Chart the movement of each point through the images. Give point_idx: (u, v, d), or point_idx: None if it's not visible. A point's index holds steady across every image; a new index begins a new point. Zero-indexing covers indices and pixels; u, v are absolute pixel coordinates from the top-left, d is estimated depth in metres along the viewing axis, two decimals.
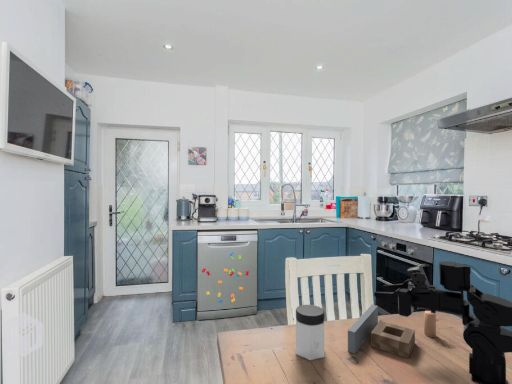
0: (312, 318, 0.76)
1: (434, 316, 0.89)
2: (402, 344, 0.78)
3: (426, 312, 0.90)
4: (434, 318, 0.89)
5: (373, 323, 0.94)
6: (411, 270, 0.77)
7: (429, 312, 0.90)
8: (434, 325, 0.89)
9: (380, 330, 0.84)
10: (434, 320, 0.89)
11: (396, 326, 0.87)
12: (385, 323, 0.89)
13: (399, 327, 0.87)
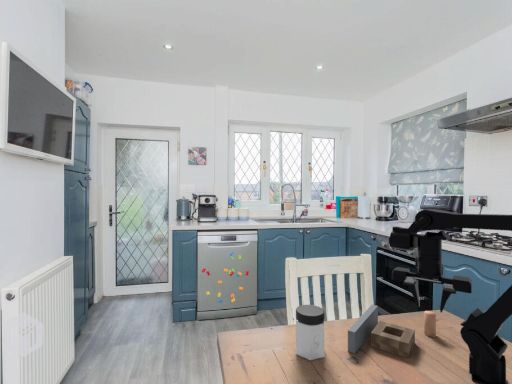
0: (312, 318, 0.76)
1: (434, 316, 0.89)
2: (402, 344, 0.78)
3: (426, 312, 0.90)
4: (434, 318, 0.89)
5: (373, 323, 0.94)
6: None
7: (429, 312, 0.90)
8: (434, 325, 0.89)
9: (380, 330, 0.84)
10: (434, 320, 0.89)
11: (396, 326, 0.87)
12: (385, 323, 0.89)
13: (399, 327, 0.87)
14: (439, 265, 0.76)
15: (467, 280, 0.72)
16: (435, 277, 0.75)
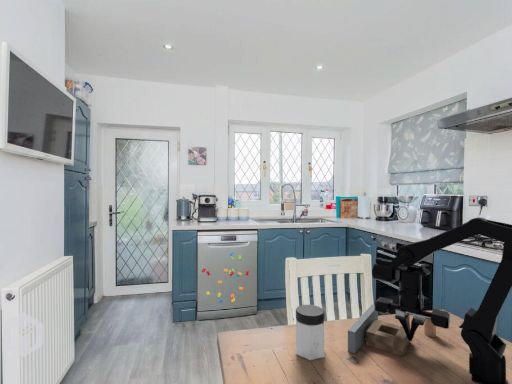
0: (312, 318, 0.76)
1: None
2: (397, 342, 0.79)
3: None
4: None
5: None
6: None
7: None
8: None
9: (375, 329, 0.85)
10: None
11: (391, 325, 0.88)
12: (380, 322, 0.90)
13: (394, 325, 0.87)
14: (419, 299, 0.79)
15: (445, 315, 0.75)
16: (415, 311, 0.78)
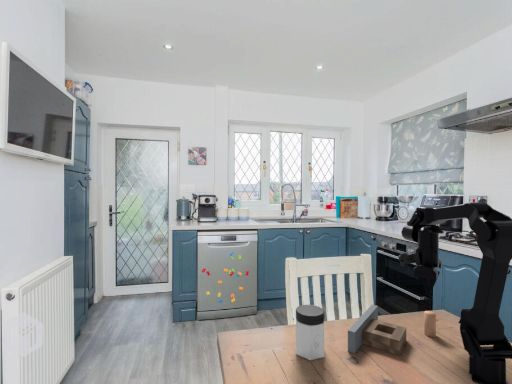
0: (312, 318, 0.76)
1: (434, 316, 0.89)
2: (393, 341, 0.79)
3: (426, 312, 0.90)
4: (434, 318, 0.89)
5: None
6: (401, 262, 0.93)
7: (429, 312, 0.90)
8: (434, 325, 0.89)
9: (372, 328, 0.86)
10: (434, 320, 0.89)
11: (388, 324, 0.88)
12: (377, 321, 0.90)
13: (391, 325, 0.88)
14: None
15: None
16: None
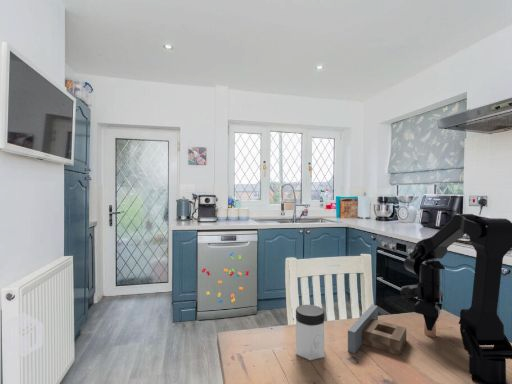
0: (312, 318, 0.76)
1: None
2: (393, 341, 0.79)
3: None
4: None
5: None
6: (402, 295, 0.93)
7: None
8: (434, 325, 0.89)
9: (372, 328, 0.86)
10: None
11: (388, 324, 0.88)
12: (377, 321, 0.90)
13: (391, 325, 0.88)
14: None
15: None
16: (440, 298, 0.90)
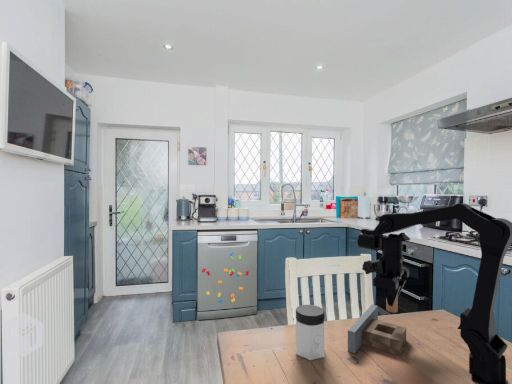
0: (312, 318, 0.76)
1: None
2: (393, 341, 0.79)
3: None
4: None
5: None
6: None
7: None
8: (395, 300, 0.85)
9: (372, 328, 0.86)
10: None
11: (388, 324, 0.88)
12: (377, 321, 0.90)
13: (391, 325, 0.88)
14: None
15: None
16: (403, 272, 0.86)
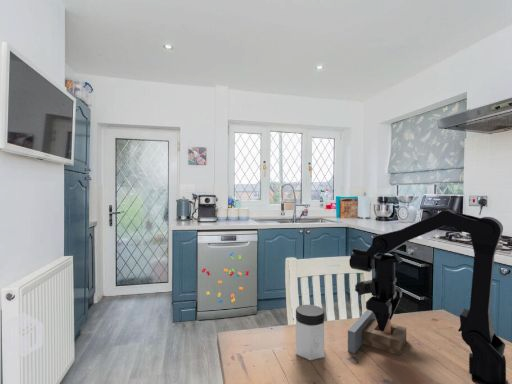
0: (312, 318, 0.76)
1: (388, 323, 0.84)
2: (393, 341, 0.79)
3: None
4: (388, 325, 0.84)
5: None
6: (357, 291, 0.88)
7: None
8: (388, 332, 0.84)
9: (372, 328, 0.86)
10: (388, 327, 0.84)
11: None
12: None
13: (391, 325, 0.88)
14: None
15: (395, 286, 0.91)
16: (396, 293, 0.85)
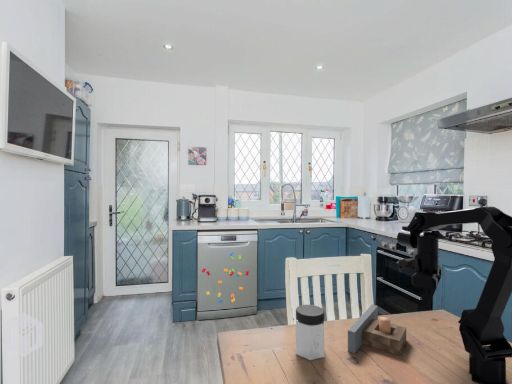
0: (312, 318, 0.76)
1: (388, 323, 0.84)
2: (393, 341, 0.79)
3: (381, 318, 0.86)
4: (388, 325, 0.84)
5: None
6: (399, 269, 0.89)
7: (384, 318, 0.86)
8: (388, 332, 0.84)
9: (372, 328, 0.86)
10: (388, 327, 0.84)
11: None
12: (377, 321, 0.90)
13: (391, 325, 0.88)
14: None
15: None
16: None
